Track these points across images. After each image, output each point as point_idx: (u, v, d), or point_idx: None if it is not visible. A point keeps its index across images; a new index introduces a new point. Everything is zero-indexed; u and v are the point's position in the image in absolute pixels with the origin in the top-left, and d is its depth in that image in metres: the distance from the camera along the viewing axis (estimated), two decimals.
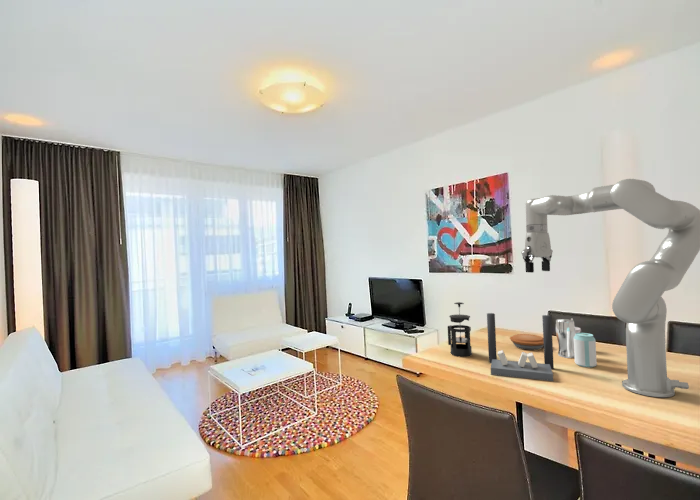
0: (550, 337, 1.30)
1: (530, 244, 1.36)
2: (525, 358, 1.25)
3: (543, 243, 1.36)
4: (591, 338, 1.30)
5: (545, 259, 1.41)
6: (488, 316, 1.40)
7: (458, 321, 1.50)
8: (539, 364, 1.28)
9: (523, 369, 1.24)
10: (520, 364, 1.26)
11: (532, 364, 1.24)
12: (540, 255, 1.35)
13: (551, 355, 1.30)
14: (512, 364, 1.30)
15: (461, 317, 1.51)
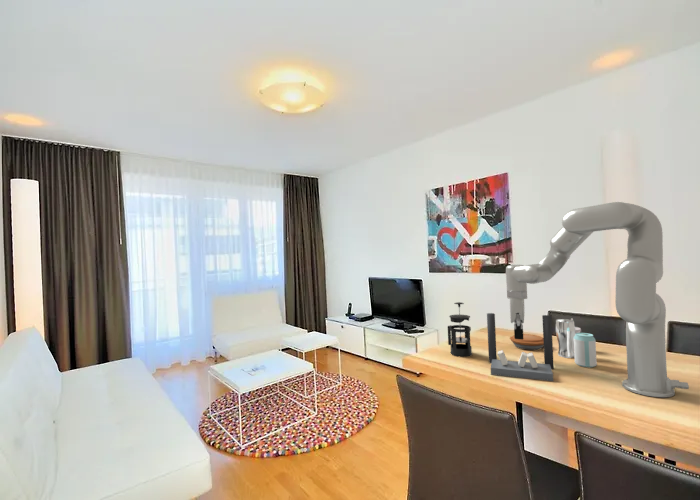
0: (550, 337, 1.30)
1: None
2: (525, 358, 1.25)
3: None
4: (591, 338, 1.30)
5: None
6: (488, 316, 1.40)
7: (458, 321, 1.50)
8: (539, 364, 1.28)
9: (523, 369, 1.24)
10: (520, 364, 1.26)
11: (532, 364, 1.24)
12: None
13: (551, 355, 1.30)
14: (512, 364, 1.30)
15: (461, 317, 1.51)
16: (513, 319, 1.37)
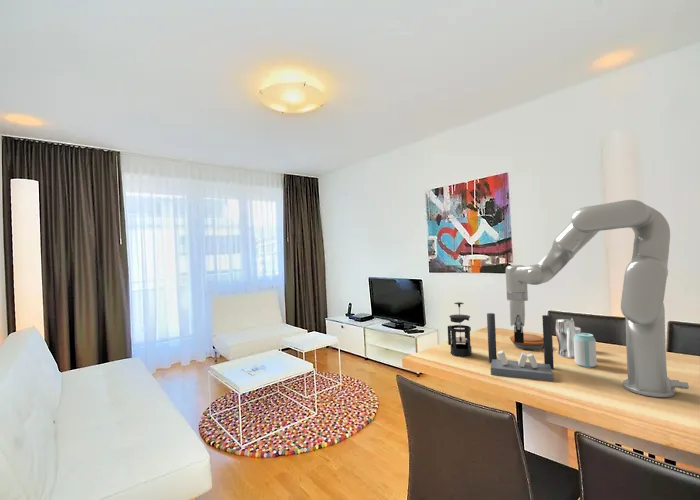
0: (550, 337, 1.30)
1: None
2: (525, 358, 1.25)
3: None
4: (591, 338, 1.30)
5: None
6: (488, 316, 1.40)
7: (458, 321, 1.50)
8: (539, 364, 1.28)
9: (523, 369, 1.24)
10: (520, 364, 1.26)
11: (532, 364, 1.24)
12: None
13: (551, 355, 1.30)
14: (512, 364, 1.30)
15: (461, 317, 1.51)
16: (513, 322, 1.32)
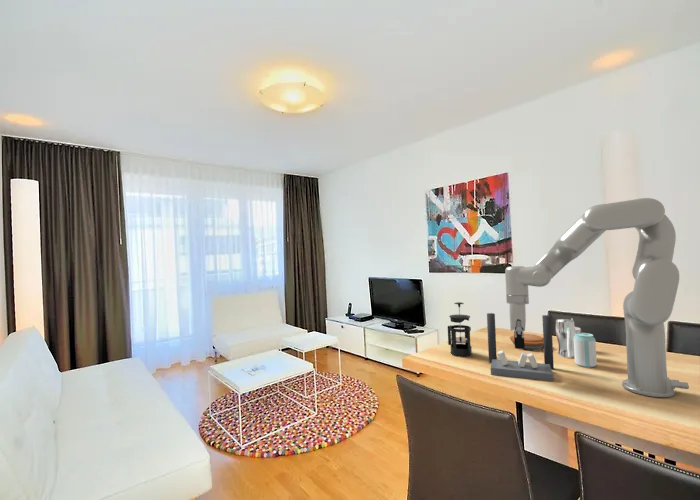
0: (550, 337, 1.30)
1: None
2: (525, 358, 1.25)
3: None
4: (591, 338, 1.30)
5: None
6: (488, 316, 1.40)
7: (458, 321, 1.50)
8: (539, 364, 1.28)
9: (523, 369, 1.24)
10: (520, 364, 1.26)
11: (532, 364, 1.24)
12: None
13: (551, 355, 1.30)
14: (512, 364, 1.30)
15: (461, 317, 1.51)
16: (513, 326, 1.24)
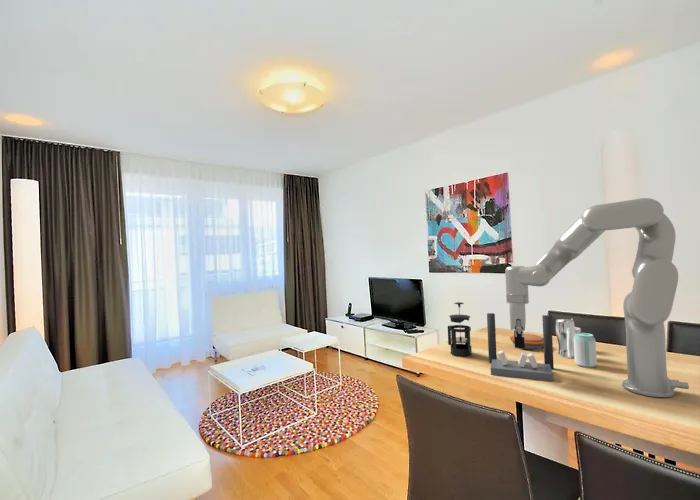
0: (550, 337, 1.30)
1: None
2: (525, 358, 1.25)
3: None
4: (591, 338, 1.30)
5: None
6: (488, 316, 1.40)
7: (458, 321, 1.50)
8: (539, 364, 1.28)
9: (523, 369, 1.24)
10: (520, 364, 1.26)
11: (532, 364, 1.24)
12: None
13: (551, 355, 1.30)
14: (512, 364, 1.30)
15: (461, 317, 1.51)
16: (513, 326, 1.25)
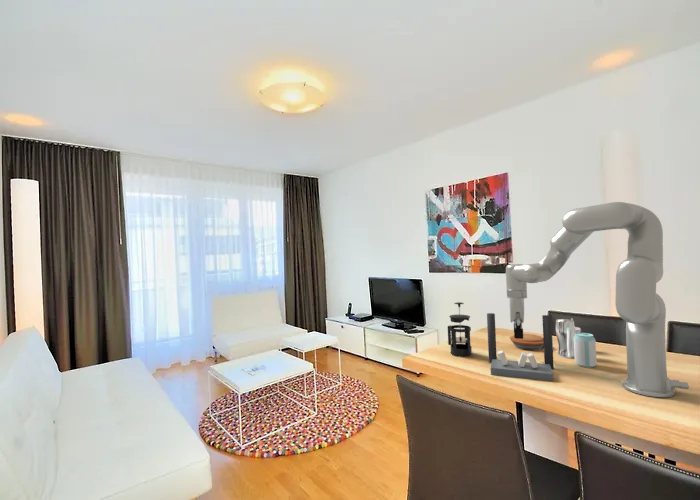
0: (550, 337, 1.30)
1: None
2: (525, 358, 1.25)
3: None
4: (591, 338, 1.30)
5: None
6: (488, 316, 1.40)
7: (458, 321, 1.50)
8: (539, 364, 1.28)
9: (523, 369, 1.24)
10: (520, 364, 1.26)
11: (532, 364, 1.24)
12: None
13: (551, 355, 1.30)
14: (512, 364, 1.30)
15: (461, 317, 1.51)
16: (513, 318, 1.37)
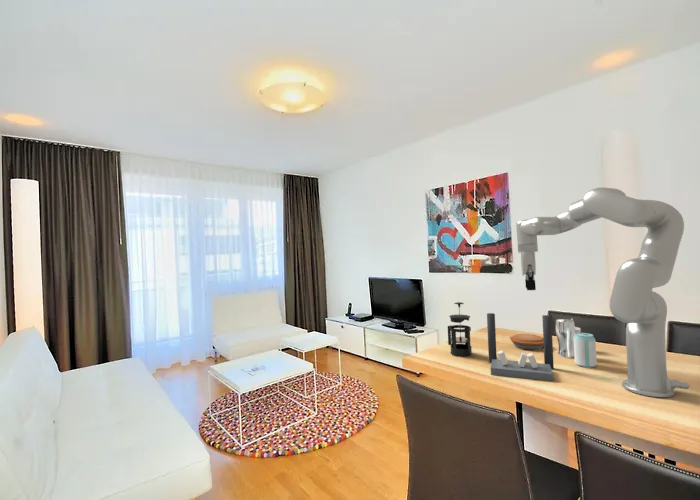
0: (550, 337, 1.30)
1: None
2: (525, 358, 1.25)
3: (521, 262, 1.47)
4: (591, 338, 1.30)
5: None
6: (488, 316, 1.40)
7: (458, 321, 1.50)
8: (539, 364, 1.28)
9: (523, 369, 1.24)
10: (520, 364, 1.26)
11: (532, 364, 1.24)
12: None
13: (551, 355, 1.30)
14: (512, 364, 1.30)
15: (461, 317, 1.51)
16: (525, 271, 1.41)
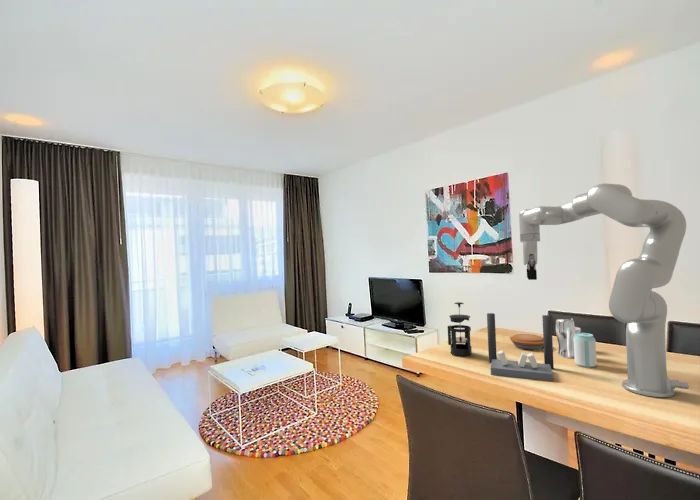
0: (550, 337, 1.30)
1: None
2: (525, 358, 1.25)
3: None
4: (591, 338, 1.30)
5: None
6: (488, 316, 1.40)
7: (458, 321, 1.50)
8: (539, 364, 1.28)
9: (523, 369, 1.24)
10: (520, 364, 1.26)
11: (532, 364, 1.24)
12: None
13: (551, 355, 1.30)
14: (512, 364, 1.30)
15: (461, 317, 1.51)
16: (527, 260, 1.42)
